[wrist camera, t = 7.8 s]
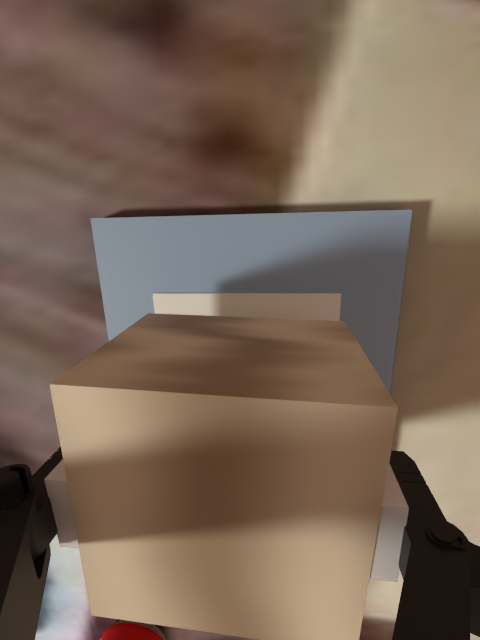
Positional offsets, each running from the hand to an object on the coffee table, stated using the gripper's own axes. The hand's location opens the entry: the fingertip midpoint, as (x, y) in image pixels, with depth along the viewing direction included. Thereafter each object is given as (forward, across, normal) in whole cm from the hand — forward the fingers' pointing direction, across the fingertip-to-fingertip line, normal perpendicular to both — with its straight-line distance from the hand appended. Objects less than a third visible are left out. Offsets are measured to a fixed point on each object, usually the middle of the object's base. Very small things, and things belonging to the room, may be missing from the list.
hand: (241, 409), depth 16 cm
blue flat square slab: (+4, 0, 0) cm, 4 cm away
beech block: (0, 0, 0) cm, 0 cm away
